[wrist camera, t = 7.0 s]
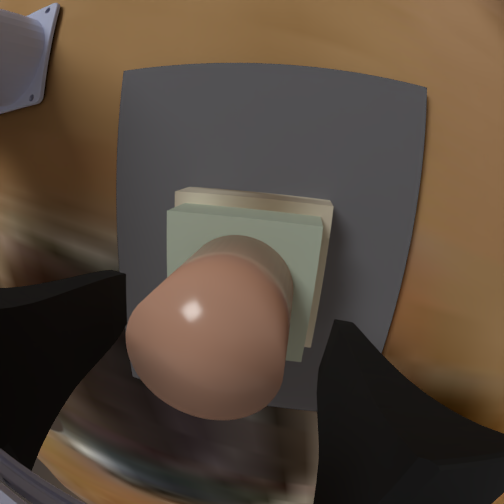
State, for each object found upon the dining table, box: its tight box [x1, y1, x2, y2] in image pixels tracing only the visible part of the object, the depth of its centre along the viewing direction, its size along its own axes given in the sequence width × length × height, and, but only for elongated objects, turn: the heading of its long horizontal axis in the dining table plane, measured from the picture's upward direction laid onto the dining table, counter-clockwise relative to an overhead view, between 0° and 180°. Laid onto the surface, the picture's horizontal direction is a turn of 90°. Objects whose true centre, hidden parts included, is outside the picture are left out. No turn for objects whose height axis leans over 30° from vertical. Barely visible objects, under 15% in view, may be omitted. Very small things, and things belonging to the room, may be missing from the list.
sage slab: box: [167, 203, 323, 362], centre depth 14 cm, size 6×6×2 cm
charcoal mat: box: [116, 63, 427, 411], centre depth 17 cm, size 16×20×1 cm
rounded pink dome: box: [126, 235, 294, 420], centre depth 10 cm, size 4×4×5 cm
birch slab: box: [175, 187, 334, 348], centre depth 16 cm, size 7×7×2 cm
